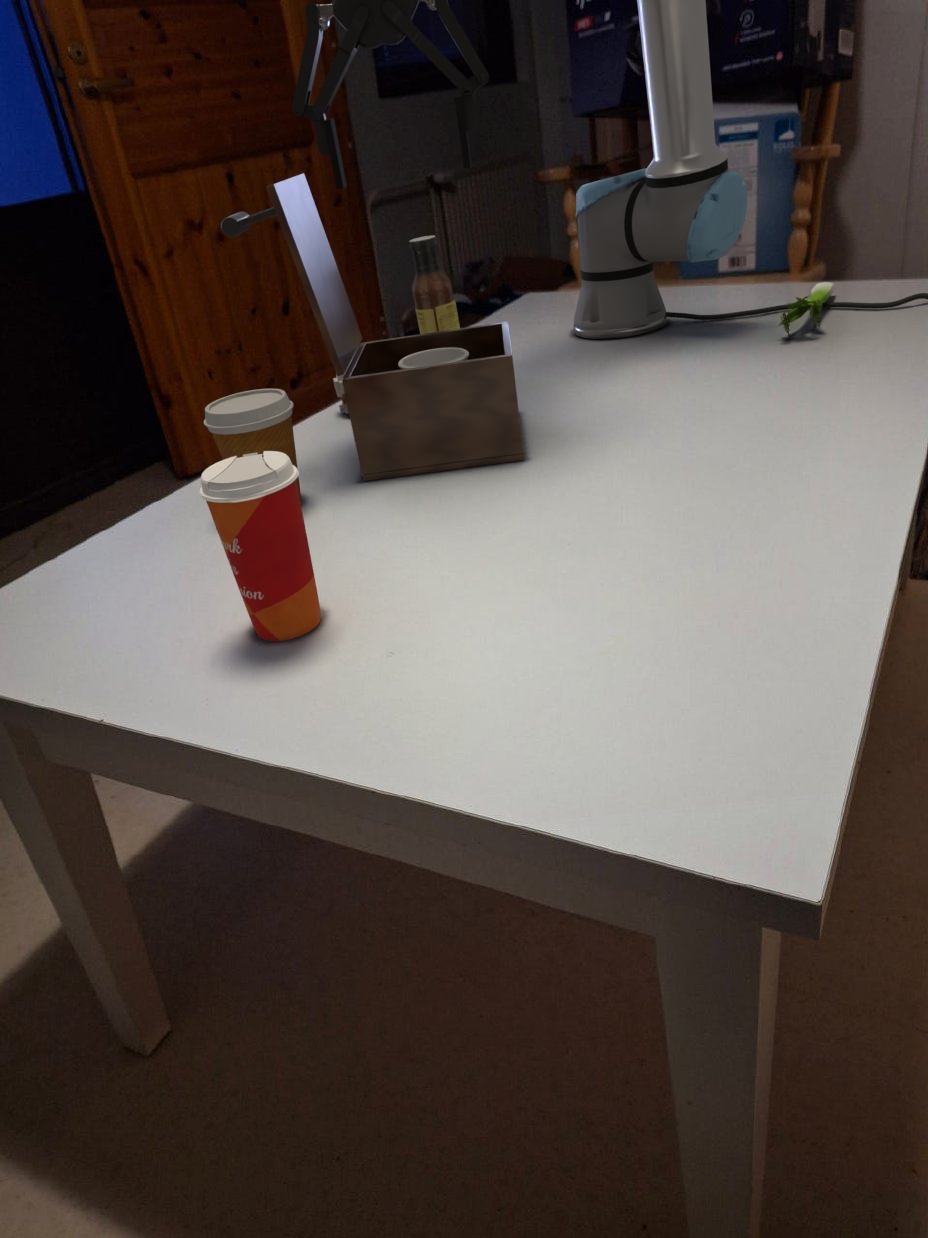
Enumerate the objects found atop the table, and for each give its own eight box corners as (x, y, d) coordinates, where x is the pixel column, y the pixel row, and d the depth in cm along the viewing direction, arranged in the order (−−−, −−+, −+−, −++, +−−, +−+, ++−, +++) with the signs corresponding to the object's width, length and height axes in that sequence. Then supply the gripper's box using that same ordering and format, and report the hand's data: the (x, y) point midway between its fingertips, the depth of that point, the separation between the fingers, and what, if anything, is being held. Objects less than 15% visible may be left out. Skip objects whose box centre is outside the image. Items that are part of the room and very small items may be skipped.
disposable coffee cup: (330, 489, 102) (306, 385, 96) (290, 524, 95) (261, 413, 89) (258, 489, 106) (231, 389, 100) (214, 523, 98) (182, 417, 92)
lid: (303, 172, 103) (237, 195, 104) (273, 183, 88) (196, 210, 89) (362, 338, 112) (300, 357, 113) (344, 374, 97) (273, 396, 98)
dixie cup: (490, 427, 111) (479, 345, 106) (463, 451, 104) (450, 365, 100) (430, 427, 114) (417, 348, 110) (400, 450, 108) (385, 367, 103)
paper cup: (249, 609, 79) (203, 457, 72) (335, 595, 79) (298, 442, 72) (236, 655, 72) (185, 493, 65) (331, 640, 72) (290, 475, 65)
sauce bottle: (468, 364, 143) (449, 230, 134) (465, 374, 138) (445, 236, 128) (428, 369, 144) (407, 237, 135) (423, 379, 139) (400, 243, 129)
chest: (518, 414, 117) (507, 321, 111) (524, 460, 101) (512, 355, 96) (378, 433, 118) (360, 342, 112) (363, 481, 103) (341, 379, 97)
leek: (845, 305, 148) (824, 338, 124) (801, 313, 152) (771, 346, 128) (842, 267, 146) (820, 292, 122) (797, 276, 149) (767, 302, 126)
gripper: (494, -87, 87) (519, 156, 98) (245, -40, 89) (296, 193, 100) (495, -102, 81) (522, 160, 91) (227, -51, 83) (283, 199, 93)
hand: (404, 178), depth 95 cm, fingers open, 13 cm apart
